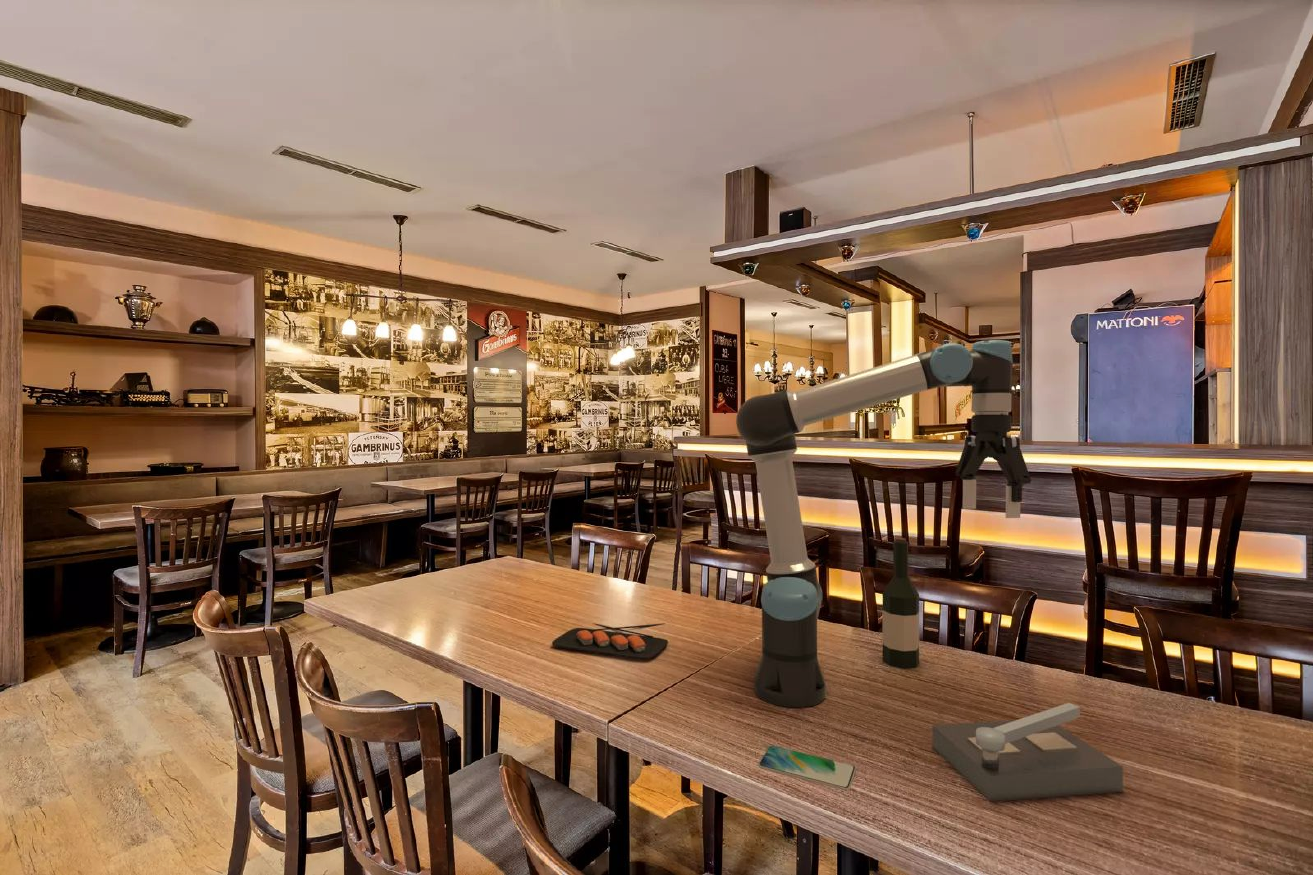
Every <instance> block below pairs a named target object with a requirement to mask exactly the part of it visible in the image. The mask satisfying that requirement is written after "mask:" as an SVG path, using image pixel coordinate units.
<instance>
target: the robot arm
mask: <svg viewBox="0 0 1313 875" xmlns="http://www.w3.org/2000/svg"><path fill="white" fill-rule="evenodd" d="M1012 349H1013V348H1012V344H1011V343H1010V341H1008V340H1004V339H1003V340H1002V339H994V340H993V339H991V340H981V341H976V342H974V343H973V344H972V348H971V350H969V349H968V348H967V347H966V346H964V345H962V344H961V343H955V342H949V343H944V344H941V345H939V346H938V347H936V348H933V349H930V350H927V351H923V352H920V353H918V352H917V353H916V354H913V355H911V356H908V357H904V358H901V359H897V360H895V361H890V362H888V363H884V364H881V365H878V366H875V367H871V368H868V369H865V370H861V371H859V372H856V373H852V374H849V375H845V376H842V377H839V378H835V379H832V380H829V381H825V382H822V383H820V384H816V385H813V386H810V387H807V388H803V389H800V390H797V391H793V390H791V389H789V388H787V389H784V390H781V391H777V392H774V393H767V394H761V395H755V396H752V397H750V398H748V399H747V400H746V401H744V403H743V404H741V406H740V407H739V409H738V411H737V414H736V420H735V422H736V424H735V425H736V429H737V432H738V433H739V434H738V435H740V437H741V438H742V440H743V441H745V446H746V451H747V457H748V458H749V459H750V460H752V461H753V462H754V463H755V467H756V472H757V480H758V487H759V493H760V501H761V506H762V512H763V518H764V524H765V531H766V533H765V534H766V538H767V544H768V550H769V551H768V552H769V557H770V563H769V564H768V565H767V567H766V568H765V573H766V580H767V582H766V583H765V584H764V585H763V587H762V589H761V591H762V592H761V596H760V602H761V657H760V660H759V661H758V662H759V663H758V666H757V669H756V670H755V671H756V672H755V675H754V678H753V691H754V693H755V695H756V696H757V697H759V698H760V699H762V701H764V702H766V703H767V702H768V703H770V704H773V705H776V706H781V707H787V708H788V707H789V708H804V707H812V706H815V705H817V704H820V703H822V702H823V701H824V700H825V699H826V697H827V696H826V695H827V687H826V685H827V684H826V681H825V678H824V675H823V672H822V669H821V666H820V663H819V660H818V618H819V614H820V611H821V610H820V609H821V607H822V604H823V590H822V587H821V585H820V583H819V579H818V573H817V567H816V563H815V562H813V561H812V560H811V559H810V558H809V557H808V552H807V546H806V538H805V533H804V526H803V521H802V520H803V519H802V514H801V509H800V508H801V507H800V502H799V495H798V488H797V482H796V476H795V470H794V464H793V456H794V455H795V453H796V452H797V450H798V448H797V440H796V434H799V433H802V431H803V430H804V428H805V427H806V426H808V425H813V424H817V423H819V422H823V421H826V420H830V419H833V418H836V417H840V416H843V415H847V414H850V413H854V412H857V411H860V410H864V409H867V408H870V407H874V406H877V405H881V404H884V403H885V404H886V403H887V402H888V403H889V402H891V401H894V400H898V399H901V398H904V397H908V396H912V395H915V394H919V393H922V392H925V391H929V390H933V389H937V388H944V387H945V388H946V387H947V388H948V387H950V388H951V387H971V407H970V408H971V409H970V410H971V412H972V413H974V414H973V415H972V416H971V422H970V423H971V424H970V425H971V432H973V433H975V435H966V436H965V438H964V446H963V449H962V451H961V455H960V457H959V461H958V464H957V467H956V470H955V476H957V477H958V476H959V477H960V479H961V481H962V485H961V486H962V488H961V489H962V509H964V510H974V509H977V480H976V479H977V478H976V474H977V473H978V471H979V470H980V468H981V466H982V465H983V463H984V462H985V460H986V459H987V458H991V459H993V460H994V461H996V463H997V464H998V467H999V468H1000V469H1001V472H1002V473H1003V476H1004V477H1005V478H1006V481H1007V484H1006V485H1005V518H1006V519H1021V502H1022V500H1023V486H1025V485H1027V484H1031V482H1032V478H1031V475H1030V473H1029V470H1028V467H1027V464H1026V461H1025V458H1024V455H1023V453H1022V449H1021V444H1020V443H1021V442H1020V440H1021V439H1020V437H1018V436H1008V435H1007V434H1008V433H1010V432H1011V431H1012V418H1013V417H1012V416H1011V414H1009V413H1011V412H1012V392H1013V391H1012V389H1013V388H1012V387H1013V385H1012V384H1013V383H1012V382H1013V363H1014V361H1013V351H1012Z"/></svg>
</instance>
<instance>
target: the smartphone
mask: <svg viewBox="0 0 1313 875" xmlns="http://www.w3.org/2000/svg"><path fill="white" fill-rule="evenodd" d="M757 766H758V768H759V769H761V770H766V771H769V772H772V773H776V774H781V775H783V776H784V775H785V776H788V777H792V778H796V779H800V780H804V781H806V782H807V781H809V782H810V783H816V784H820V785H823V786H826V787H831V788H834V789H838V790H843V791H849V790H850V789H851V787H852V785H853V784H852V783H853V782H854V781H853V780H854V777H855V775H856V772H857V768H856V766H855V765H854V764H850V763H846V762H842V761H838V760H834V759H829V758H826V757H822V756H817V755H814V754H811V753H810V754H809V753H806V752H801V751H797V750H793V749H788V748H784V747H781V746H777V745H768V746H767V749H766V750H765V752H764V754H763V755H762V757H761V759H760V761H759V763H758V764H757Z"/></svg>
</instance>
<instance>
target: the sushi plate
mask: <svg viewBox="0 0 1313 875" xmlns="http://www.w3.org/2000/svg"><path fill="white" fill-rule="evenodd" d="M592 624H593V625H595V626H598V627H601V628H586V627H576V628H575V627H574V628H572V629H570V630H568V631H566V632H565V633H563V634H561V635H559V636H558V637H557V638H554V640H553V641H552V642H551V645H552V646H553V647H557V648H562V649H569V650H576V651H583V652H587V653H588V652H591V653H596V654H603V655H609V656H615V657H624V658H631V659H639V660H648V659H649V660H650V659H652V658H654V657H656V656H657V655H659V654H660V652H661V651H663V650H664V649H665V648H666V647H667V645H668V644H669V641H668V640H667V639H665V638H661V637H655V636H653V635H649V634H645V633H642V632H641V633H639V632H636V631H630V630H625V629H637V628H641V629H642V628H650V627H657V626H661V625H666V623H652V624H644V625H643V624H642V625H632V626H620V627H616V626H615V627H613V626H608V625H604V624H600V623H599V624H598V623H595V622H594V623H592ZM610 630H613V631H610ZM616 631H617V632H616ZM618 631H619V632H618Z"/></svg>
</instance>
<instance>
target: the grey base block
mask: <svg viewBox="0 0 1313 875" xmlns="http://www.w3.org/2000/svg"><path fill="white" fill-rule="evenodd" d="M1016 720H1017V719H1009V720H996V721H978V722H975V721H974V722H962V723H960V722H959V723H946V724H945V723H944V724H943V723H942V724H932V748H933V749H934V750H935V752H937V753H938V754H939V755H940V756H941V757H942V758H944V760H945V761H946V762H947V763H948V764H950V766H952V767H953V768H954V769H955V770H956V772H958V773H959V774H960V775H962V777H964V779H966V780H967V781H968V782H969V783H970V784H971V785H972V786H973V788H975V789H976V790H977V791H978V792H979V793H980V794H982V796H984V797H985V798H986V800H988V801H989V802H990V803H993V802H1004V801H1005V802H1006V801H1007V802H1008V801H1019V800H1033V799H1046V798H1061V797H1074V796H1086V795H1088V796H1089V795H1101V794H1113V793H1123V790H1124V789H1123V788H1124V785H1123V784H1124V783H1123V782H1124V779H1123V778H1124V775H1123V773H1124V766H1122V764H1120V763H1118V762H1116V761H1115V760H1114V759H1112V758H1110V757H1109V756H1107V755H1105V754H1104V753H1103V752H1101V751H1099V750H1097V749H1096V748H1095V747H1094V746H1092V745H1090V744H1088V743H1087V742H1085V741H1084V740H1082V739H1081V738H1079V737H1077V736H1076V735H1074V734H1073V733H1071V732H1070V731H1068V730H1067V729H1065V728H1063V727H1061V725H1057V726H1054V727H1051V728H1048V729H1046V730H1043V731H1040V732H1037V733H1034V734H1032V735H1029V736H1026V737H1023V738H1020V739H1018V740H1015V741H1012V742H1009V743H1007V744H1005V749H1004V750H1003V751H989V750H986V749H983V748H981V747H980V746H978V745H977V744H976V729H977V728H980V727H988V728H995V727H998V726H1001V725H1004V724H1007V723H1010V722H1013V721H1016Z"/></svg>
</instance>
